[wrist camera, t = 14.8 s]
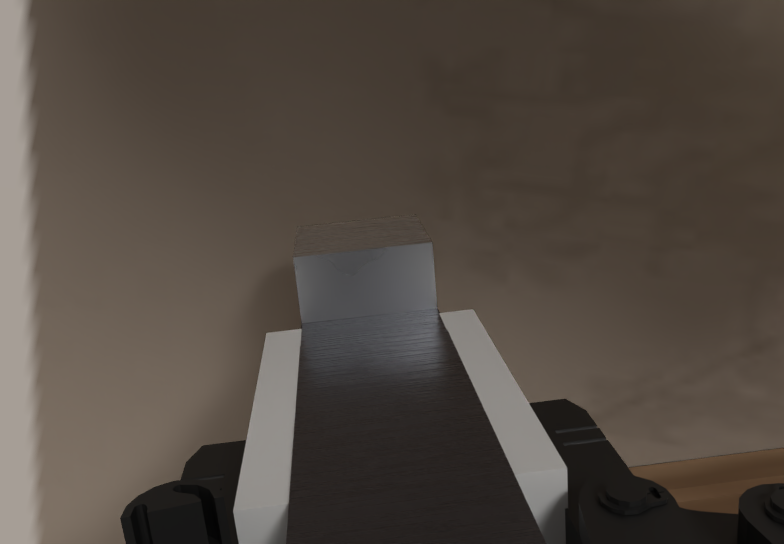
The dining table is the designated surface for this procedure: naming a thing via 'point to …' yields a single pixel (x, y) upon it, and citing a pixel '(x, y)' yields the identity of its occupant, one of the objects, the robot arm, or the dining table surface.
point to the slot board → (715, 478)
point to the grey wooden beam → (389, 403)
